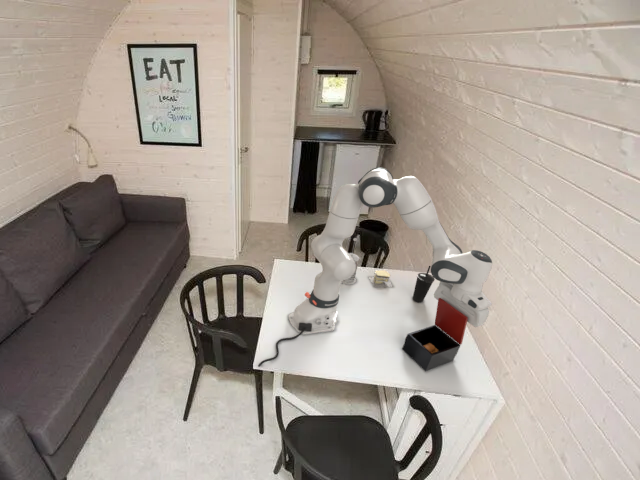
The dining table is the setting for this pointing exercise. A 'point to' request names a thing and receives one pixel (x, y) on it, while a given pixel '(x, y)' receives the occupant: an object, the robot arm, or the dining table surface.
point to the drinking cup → (422, 286)
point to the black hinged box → (436, 338)
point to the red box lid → (450, 321)
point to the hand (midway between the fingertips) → (452, 319)
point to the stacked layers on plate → (381, 279)
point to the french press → (351, 279)
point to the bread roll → (431, 348)
